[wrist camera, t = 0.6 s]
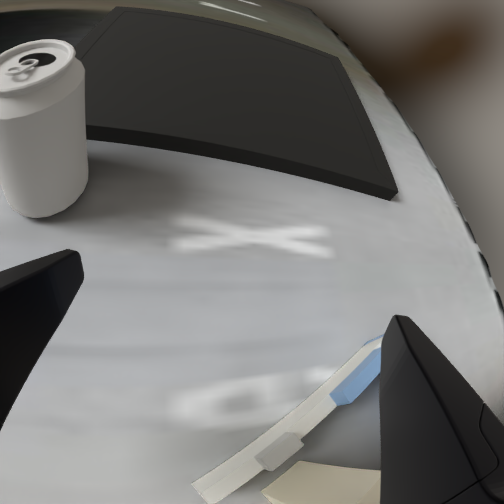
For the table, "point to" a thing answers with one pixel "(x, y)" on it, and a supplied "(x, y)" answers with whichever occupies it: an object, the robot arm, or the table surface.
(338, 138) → the thin dark grey tray
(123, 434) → the table surface
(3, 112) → the can
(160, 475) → the table surface
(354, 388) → the sled frame
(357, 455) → the table surface
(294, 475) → the beige drawer with knob
